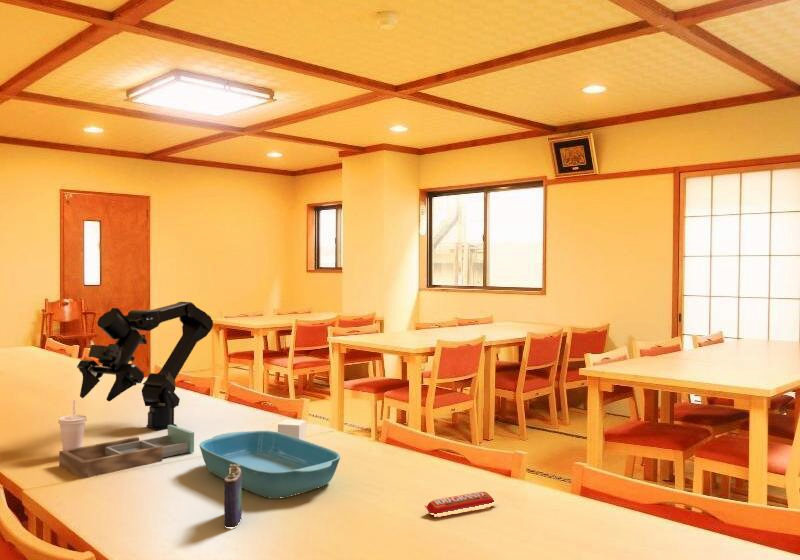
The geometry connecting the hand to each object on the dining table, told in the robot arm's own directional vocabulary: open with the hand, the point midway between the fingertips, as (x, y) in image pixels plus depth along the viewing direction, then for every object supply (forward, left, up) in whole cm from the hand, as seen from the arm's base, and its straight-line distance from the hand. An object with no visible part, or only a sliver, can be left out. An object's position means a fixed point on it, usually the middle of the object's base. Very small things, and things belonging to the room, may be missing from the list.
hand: (94, 398), depth 174 cm
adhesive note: (-39, +32, -13) cm, 53 cm away
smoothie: (+7, +4, -13) cm, 15 cm away
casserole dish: (-17, +51, -13) cm, 56 cm away
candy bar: (-33, +95, -13) cm, 102 cm away
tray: (-7, +16, -12) cm, 22 cm away
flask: (+3, +67, -13) cm, 69 cm away
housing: (+3, +16, -13) cm, 21 cm away
